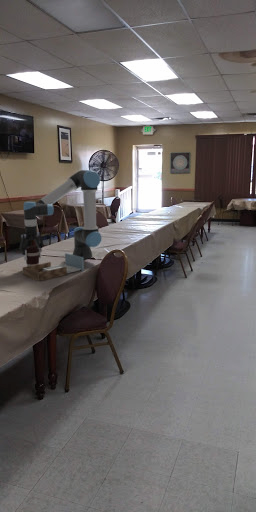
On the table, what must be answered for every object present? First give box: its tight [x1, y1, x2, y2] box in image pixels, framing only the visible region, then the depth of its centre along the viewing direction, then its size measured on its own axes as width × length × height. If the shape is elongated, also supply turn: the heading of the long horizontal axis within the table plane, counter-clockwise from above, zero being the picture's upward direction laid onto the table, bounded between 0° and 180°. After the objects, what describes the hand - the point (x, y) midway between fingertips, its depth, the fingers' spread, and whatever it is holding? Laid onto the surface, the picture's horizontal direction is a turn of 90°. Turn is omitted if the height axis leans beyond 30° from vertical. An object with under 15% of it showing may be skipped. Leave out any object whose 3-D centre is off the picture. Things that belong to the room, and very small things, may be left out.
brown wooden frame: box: [22, 261, 68, 282], centre depth 250 cm, size 20×19×5 cm
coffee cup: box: [25, 245, 40, 267], centre depth 262 cm, size 10×10×15 cm
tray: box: [42, 252, 85, 274], centre depth 258 cm, size 21×19×9 cm
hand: (32, 258), depth 263 cm, fingers closed on coffee cup, 10 cm apart
